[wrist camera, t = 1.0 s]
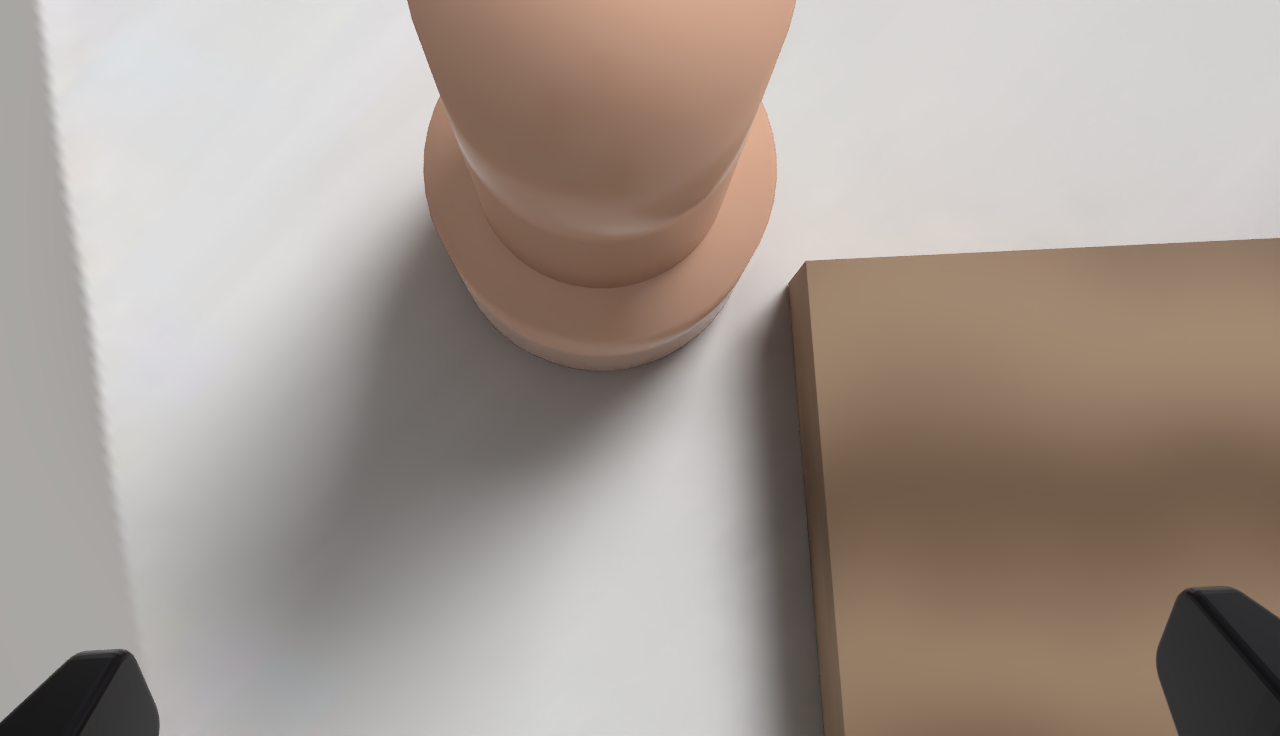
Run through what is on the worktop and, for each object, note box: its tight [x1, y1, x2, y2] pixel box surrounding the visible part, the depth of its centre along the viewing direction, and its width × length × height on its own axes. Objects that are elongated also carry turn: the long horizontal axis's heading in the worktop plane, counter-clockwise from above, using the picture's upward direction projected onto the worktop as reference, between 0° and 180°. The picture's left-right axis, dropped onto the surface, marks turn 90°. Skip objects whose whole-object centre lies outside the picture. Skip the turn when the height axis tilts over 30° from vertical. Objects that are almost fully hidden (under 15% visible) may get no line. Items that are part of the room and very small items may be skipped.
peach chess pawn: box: [407, 0, 796, 371], centre depth 18 cm, size 6×6×11 cm
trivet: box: [788, 238, 1280, 736], centre depth 22 cm, size 11×11×2 cm
